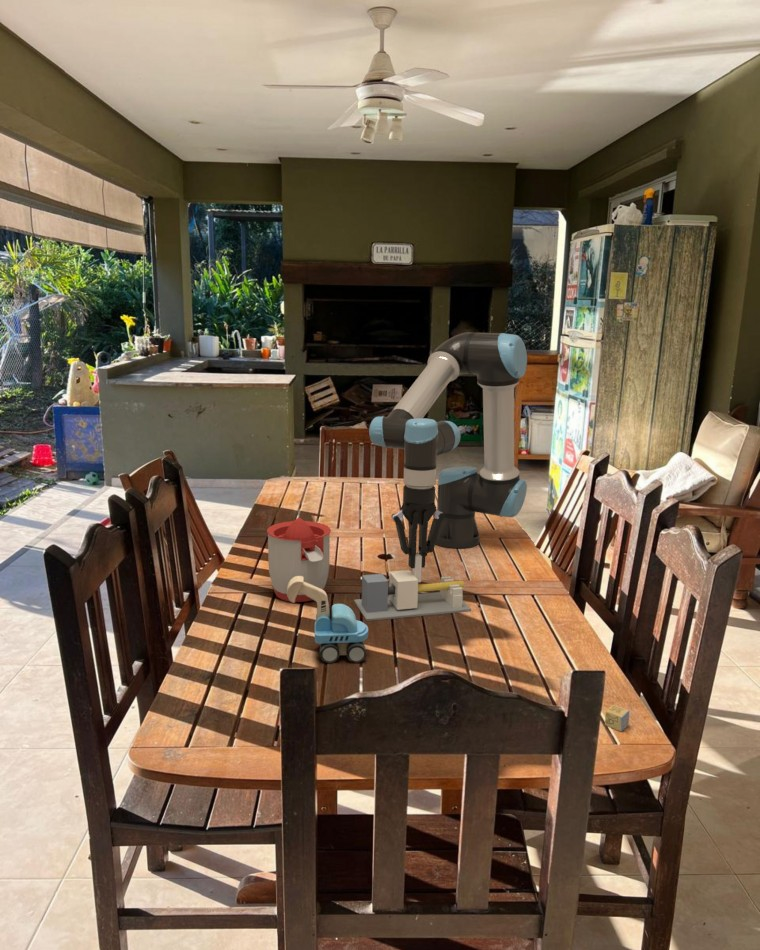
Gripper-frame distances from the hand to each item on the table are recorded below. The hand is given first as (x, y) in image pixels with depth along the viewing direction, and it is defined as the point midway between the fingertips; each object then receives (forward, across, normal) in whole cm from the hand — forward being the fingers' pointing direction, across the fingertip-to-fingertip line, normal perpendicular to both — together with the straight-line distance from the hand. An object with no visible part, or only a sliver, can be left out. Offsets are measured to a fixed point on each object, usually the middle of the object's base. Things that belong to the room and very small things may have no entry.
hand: (416, 580), depth 182 cm
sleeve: (+6, +3, 0) cm, 6 cm away
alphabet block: (+7, -18, +59) cm, 62 cm away
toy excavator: (+7, +26, +20) cm, 34 cm away
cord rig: (+7, +1, 0) cm, 7 cm away
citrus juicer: (+7, +26, -13) cm, 30 cm away
